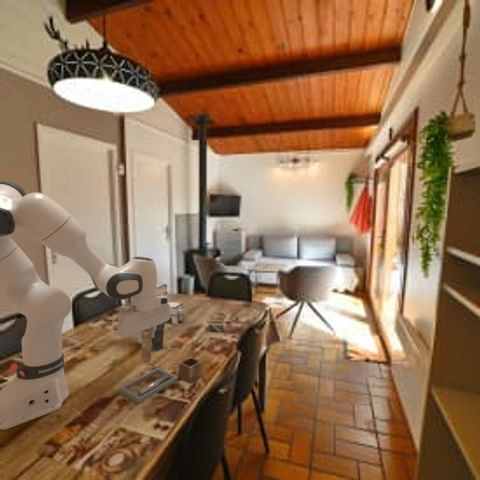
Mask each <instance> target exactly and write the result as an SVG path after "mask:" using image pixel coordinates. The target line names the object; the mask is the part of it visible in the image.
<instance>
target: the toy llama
mask: <svg viewBox="0 0 480 480" xmlns="http://www.w3.org/2000/svg"><path fill="white" fill-rule="evenodd" d="M156 289H157V293H158V295H162V296H165V297H168V285H167V284H166V283H162V284H160V285H156ZM168 304H169V305H170V319H169V320H168V321H170V320H171V325H172V326H177V325H179V323H181V322H183V319H184V318H183V315H185V309H184V306H183V305H184V304H183V303H182V302H173V301H169V303H168Z"/></svg>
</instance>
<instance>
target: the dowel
mask: <svg viewBox="0 0 480 480" xmlns="http://www.w3.org/2000/svg"><path fill="white" fill-rule="evenodd" d="M140 336H142V337H144V342H142V343H141V361H142V362H144V363H147V362H148V363H149V362H150V361H151V360H152V349H151V348H152V344H151V339H150V329H149V328H148V329H146V330H143V331H141V334H140Z"/></svg>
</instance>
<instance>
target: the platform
mask: <svg viewBox="0 0 480 480" xmlns="http://www.w3.org/2000/svg"><path fill="white" fill-rule="evenodd" d="M226 322H227V321H223V320H222V319H221V318H219V319H217V318H216V319H215V318H214V319H213V318H211V319H210V320H206V322H205V323H206V324H207V326H208V327H207V328H208V329H207V330H208V331H216V332H219V333H221V332H224V325H226Z"/></svg>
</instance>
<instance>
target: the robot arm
mask: <svg viewBox="0 0 480 480" xmlns="http://www.w3.org/2000/svg"><path fill="white" fill-rule="evenodd" d="M15 229H21V230H24V231H26V232H28V233H29V234H30V235H32V236H33V238H35V239H36V240H37V241H38V242H39V243H41V244H42V246H45V247H46V248H47V249H49V250H50V251H52V252H53V253H56V254H57V255H59V256H62V257H66V258H69V259H70V260H72V261H74V262H75V263H76V264H77V265H78V267H80V268H81V269H82V270H84V271H85V272H86V273H87V274H88V275H89V276H90V278H91V280H92V283H93V285H94V287H95V288H96V290H97V291H99V292H101V293H103V294H105V295H106V296H107V297H109V298H110V299H113V300H115V301H124V300H126V299H129V298H131V306H128V307H127V308H123V309H121V311H120V312H119V313H118V315H117V335H119V336H120V337H123V338H128V337H131V336H133V335H135V337H136V338H137V339H136V340H137V343H139V344H142V342H144V337H142V335H141V331H143V330H146V329H149V328H151V329H150V340H151V339H152V338H154V333H155V330H156V328H157V325H158V324H161V323H164V322H165V323H167V322H169V321H170V320H171V319H170V305H169V304H168V303H169V302H170V297H168V296H167V297H165V296H162V295H158V293H157V289H156V287H157V284H158V273H157V272H158V271H157V266H156V262H155V260H154V259H152V258H150V257H145V256H134V257H132V258H131V259H130V260H128V262H127V263H126V264H124V265H122V266H120V267H118V266H116V265H115V264H112V263H108V262H106V261H104V260H103V259H102V257H100V256H99V255H98V254H97V253H96V252H95V251H94V250H93V249H92V248H91V247H90V246H89V245H88V242H87V232H86V231H85V229H84V228H83V226H82V225H81V224H80V223H79V221H78V220H77V219H75V217H74V216H73V215H72V214H71V213H70V212H69V211H67V210H66V209H65V208H64V207H63V206H62V205H60V204H59V203H58V202H56V201H55V200H54V199H52V198H51V197H49V196H47V195H46V194H44V193H42V192H31V193H28V194H27V193H26V191H25V190H24V189H23V188H22V187H21V186H20V185H18V184H16V183H15V182H11V181H6V180H3V181H2V180H1V181H0V292H1V294H2V296H3V297H4V298H5V300H6V301H7V302H8V303H9V304H10V305H11V306H12V308H13V309H14V310H15V311H17V313H19V314H22V316H25V318H26V327H25V332H24V335H23V336H22V338H21V354H22V361H21V363H20V365H19V364H17V363H13V364H11V365H10V368H9V369H10V371H12V372H13V373H15V374H16V375H15V377H13V379H11V380H10V381H9V382H8V383H7V384H6V385H5V386H4V387H2V389H0V430H9V429H11V428H14V427H16V426H18V425H22V424H24V423H26V422H29V421H31V420H34V419H37V418H39V417H43V416H45V415H47V414H50V413H53V412H55V411H58V410H60V409H61V408H62V407H63V404H64V402H65V400H66V399H67V397H68V396H69V395H70V388H69V386H68V383H67V380H66V375H65V370H64V369H65V356H64V355H65V354H64V352H63V342H62V341H63V339H62V337H63V336H62V335H63V333H62V332H63V326H64V322H65V319H66V318H67V317H68V315H70V312H71V310H72V300H71V298H70V297H69V296H68V294H66V292H64V291H63V290H62V289H60V288H57V287H55V286H51V285H48V284H47V283H45V282H44V281H43V280H42V279H41V278H40V276H39V274H38V273H37V271H36V268H35V264H34V263H33V261H31V259H30V258H29V257H28V256H27V254H25V252H24V251H23V250H22V249H21V247H19V245H18V244H17V242H15V241H14V239H13V238H12V237H11V234H13V233H14V231H15ZM169 319H170V320H169Z"/></svg>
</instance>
